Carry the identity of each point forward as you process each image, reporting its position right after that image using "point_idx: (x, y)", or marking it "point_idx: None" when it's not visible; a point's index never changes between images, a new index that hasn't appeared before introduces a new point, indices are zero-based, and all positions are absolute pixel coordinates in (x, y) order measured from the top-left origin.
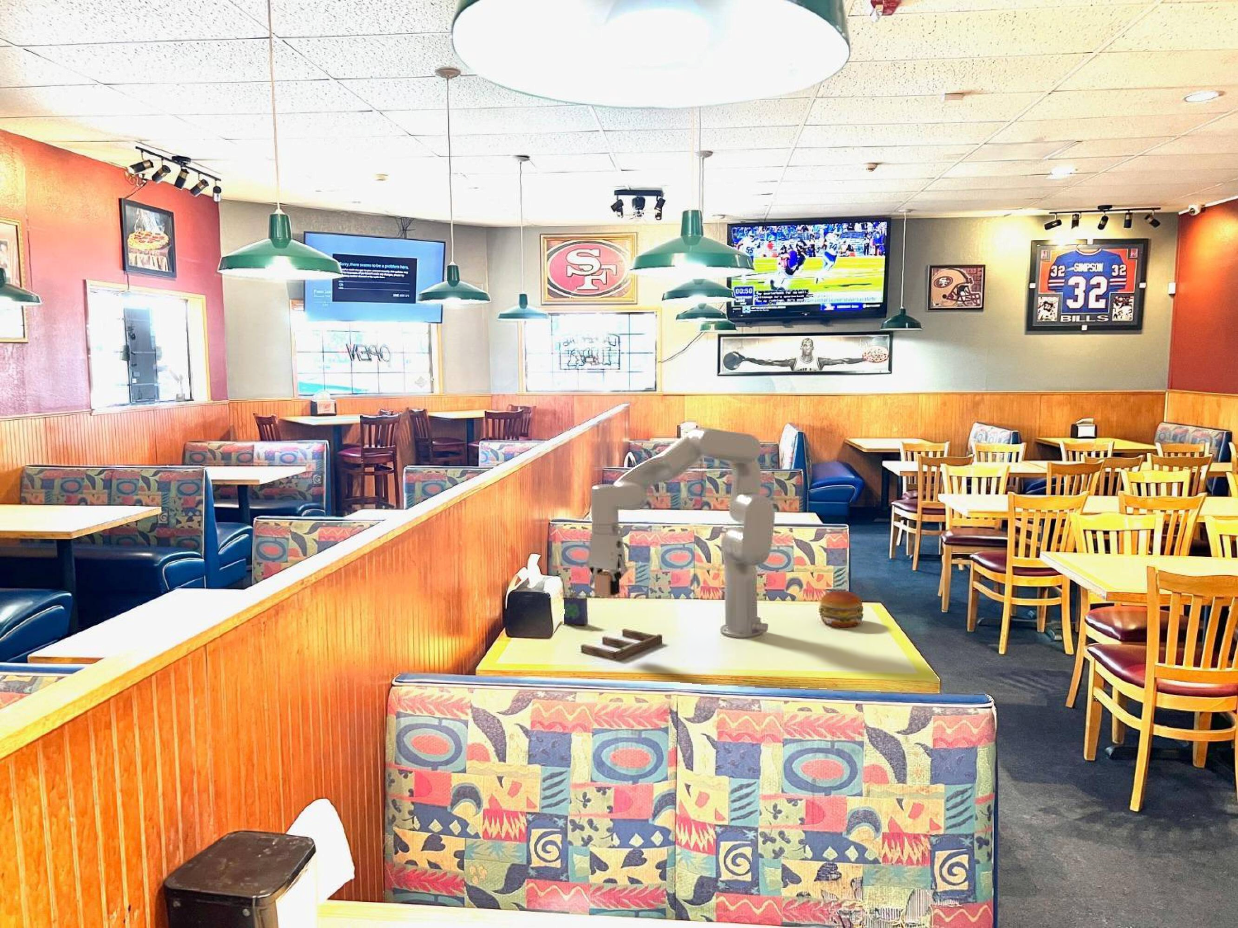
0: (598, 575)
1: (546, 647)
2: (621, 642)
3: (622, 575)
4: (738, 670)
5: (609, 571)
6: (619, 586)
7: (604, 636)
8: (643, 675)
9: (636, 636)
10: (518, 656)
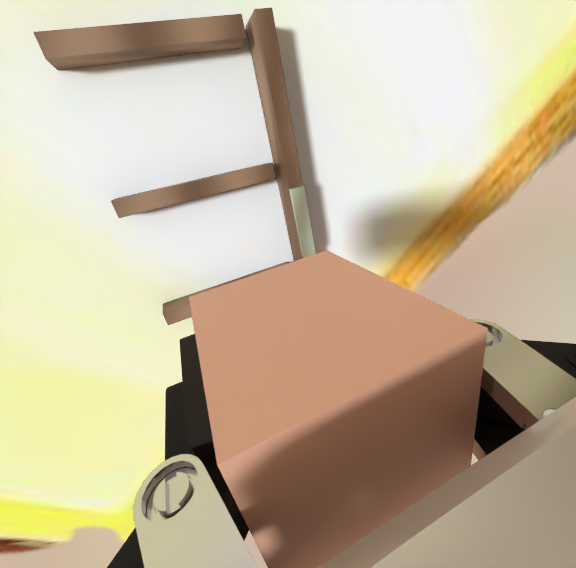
0: None
1: (42, 387)
2: (218, 192)
3: (563, 349)
4: (529, 83)
5: (318, 419)
6: (361, 268)
7: (112, 203)
8: (404, 272)
9: (146, 55)
10: (93, 467)
